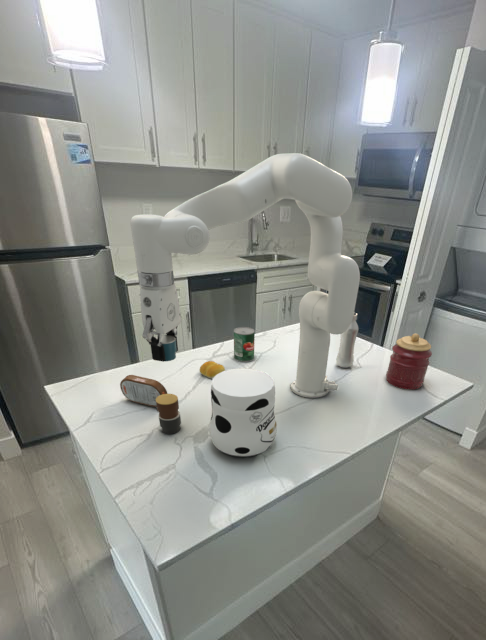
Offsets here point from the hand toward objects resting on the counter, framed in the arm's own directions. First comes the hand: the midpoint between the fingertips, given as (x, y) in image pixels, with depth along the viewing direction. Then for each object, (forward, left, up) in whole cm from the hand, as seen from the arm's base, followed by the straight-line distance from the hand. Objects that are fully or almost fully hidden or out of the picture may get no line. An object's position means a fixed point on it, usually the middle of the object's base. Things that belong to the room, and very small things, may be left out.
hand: (165, 354), depth 92 cm
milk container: (-21, +1, -21) cm, 30 cm away
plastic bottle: (-41, -57, -21) cm, 73 cm away
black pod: (0, +2, -21) cm, 21 cm away
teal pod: (0, 0, -1) cm, 1 cm away
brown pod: (0, +2, -16) cm, 16 cm away
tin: (+14, -8, -21) cm, 27 cm away
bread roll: (+3, -34, -21) cm, 40 cm away
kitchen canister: (-63, -51, -21) cm, 84 cm away
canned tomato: (-3, -51, -21) cm, 56 cm away
